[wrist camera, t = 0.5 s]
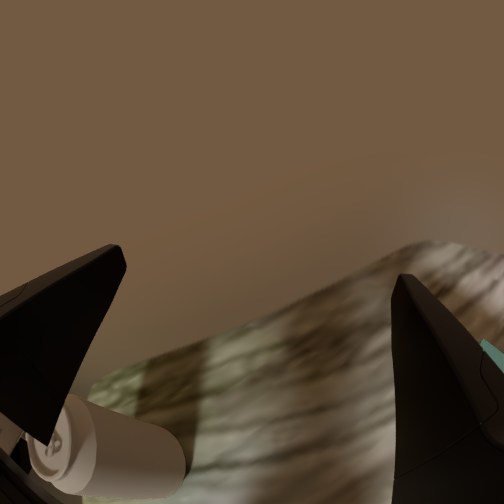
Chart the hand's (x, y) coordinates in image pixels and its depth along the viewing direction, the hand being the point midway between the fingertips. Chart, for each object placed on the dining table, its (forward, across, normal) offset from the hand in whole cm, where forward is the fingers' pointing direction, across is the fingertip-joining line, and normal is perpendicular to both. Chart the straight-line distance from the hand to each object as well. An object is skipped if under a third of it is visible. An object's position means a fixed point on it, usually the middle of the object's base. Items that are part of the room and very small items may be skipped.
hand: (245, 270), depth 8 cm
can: (-4, +8, +21) cm, 23 cm away
